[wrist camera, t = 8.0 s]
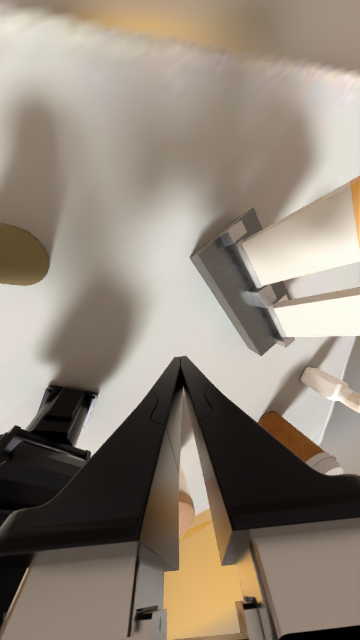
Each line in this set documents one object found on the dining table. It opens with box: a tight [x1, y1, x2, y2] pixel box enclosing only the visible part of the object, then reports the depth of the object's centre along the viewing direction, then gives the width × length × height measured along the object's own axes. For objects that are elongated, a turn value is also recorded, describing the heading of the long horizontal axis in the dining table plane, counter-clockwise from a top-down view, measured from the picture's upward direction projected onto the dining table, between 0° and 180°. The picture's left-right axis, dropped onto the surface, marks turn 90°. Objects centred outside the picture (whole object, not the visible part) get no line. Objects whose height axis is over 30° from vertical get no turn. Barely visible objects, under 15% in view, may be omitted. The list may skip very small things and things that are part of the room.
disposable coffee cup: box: [258, 412, 343, 475], centre depth 30 cm, size 10×10×12 cm
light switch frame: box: [190, 208, 295, 356], centre depth 22 cm, size 9×20×5 cm, turn 38°
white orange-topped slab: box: [267, 287, 360, 338], centre depth 18 cm, size 1×7×10 cm
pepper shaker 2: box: [301, 367, 360, 413], centre depth 30 cm, size 4×4×10 cm
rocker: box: [235, 176, 360, 288], centre depth 15 cm, size 1×7×10 cm
